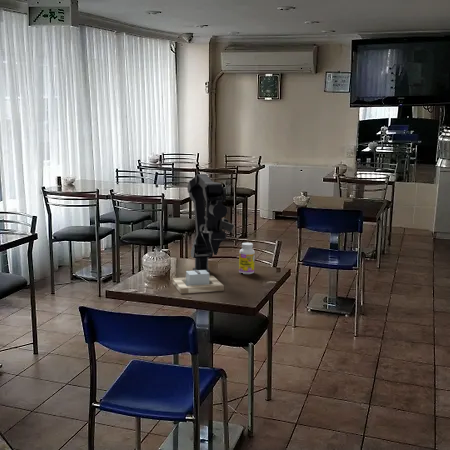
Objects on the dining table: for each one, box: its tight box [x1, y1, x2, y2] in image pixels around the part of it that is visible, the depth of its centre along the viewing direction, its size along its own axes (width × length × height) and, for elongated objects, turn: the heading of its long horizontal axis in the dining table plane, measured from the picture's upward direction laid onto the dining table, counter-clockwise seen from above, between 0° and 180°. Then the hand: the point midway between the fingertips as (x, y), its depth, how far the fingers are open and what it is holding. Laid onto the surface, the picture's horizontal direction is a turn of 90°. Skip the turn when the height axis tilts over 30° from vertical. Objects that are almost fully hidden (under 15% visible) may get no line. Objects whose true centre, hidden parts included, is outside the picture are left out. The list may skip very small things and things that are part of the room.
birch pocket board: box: [171, 275, 225, 294], centre depth 239 cm, size 15×17×2 cm
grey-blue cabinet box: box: [185, 270, 210, 286], centre depth 239 cm, size 6×8×6 cm
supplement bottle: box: [238, 242, 256, 275], centre depth 261 cm, size 7×7×13 cm
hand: (212, 252), depth 246 cm, fingers open, 9 cm apart
